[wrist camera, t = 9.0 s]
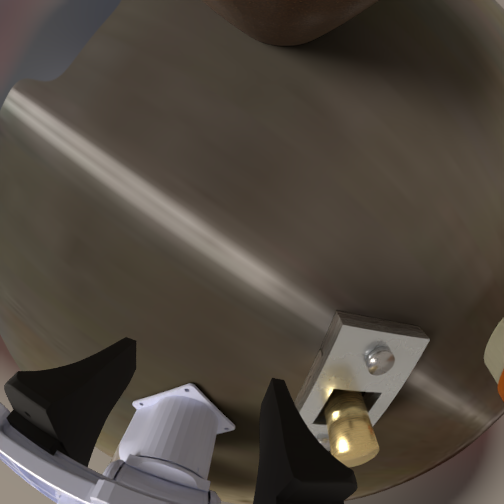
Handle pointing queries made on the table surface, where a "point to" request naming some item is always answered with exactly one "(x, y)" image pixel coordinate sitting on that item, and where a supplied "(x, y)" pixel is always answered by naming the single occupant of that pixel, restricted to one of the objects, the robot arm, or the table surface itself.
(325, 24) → the plant pot
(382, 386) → the square-hole plate
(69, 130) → the table surface
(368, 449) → the brass pin
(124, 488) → the robot arm
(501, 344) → the reusable coffee cup
